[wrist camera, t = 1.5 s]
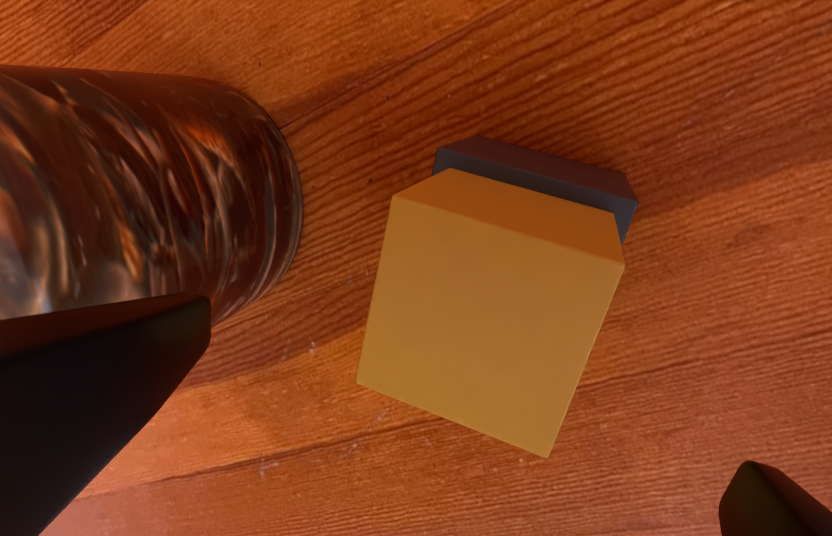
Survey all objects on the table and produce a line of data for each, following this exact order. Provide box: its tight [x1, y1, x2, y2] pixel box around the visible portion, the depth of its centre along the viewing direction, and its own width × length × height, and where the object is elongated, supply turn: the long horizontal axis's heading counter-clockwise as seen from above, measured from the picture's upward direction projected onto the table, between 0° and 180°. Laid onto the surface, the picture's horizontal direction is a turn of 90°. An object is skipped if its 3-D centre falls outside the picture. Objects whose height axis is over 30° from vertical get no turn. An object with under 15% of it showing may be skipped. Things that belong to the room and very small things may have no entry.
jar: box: [0, 64, 303, 328], centre depth 19 cm, size 12×12×15 cm
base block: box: [431, 135, 639, 246], centre depth 18 cm, size 6×6×6 cm
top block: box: [355, 168, 625, 458], centre depth 14 cm, size 5×5×5 cm
